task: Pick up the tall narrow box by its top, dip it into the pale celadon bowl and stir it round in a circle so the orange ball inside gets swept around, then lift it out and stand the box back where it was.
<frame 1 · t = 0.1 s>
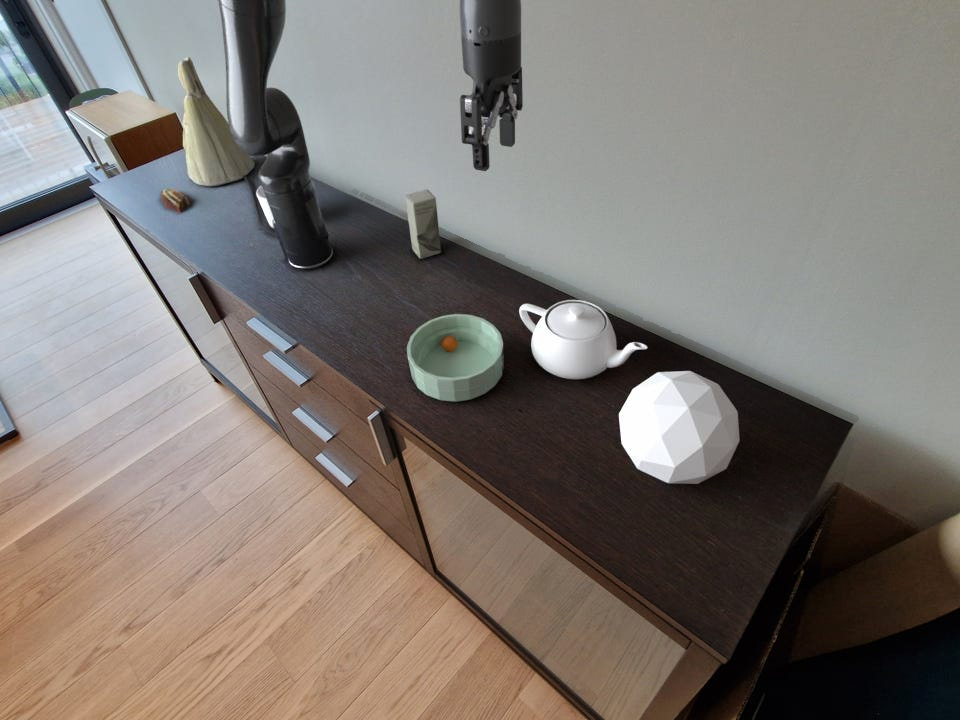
hand: (494, 157, 77), 29 cm above the sideboard, tool pointing down, fingers open, 8 cm apart
teapot: (575, 360, 88), on the sideboard
brown striped bar: (174, 202, 135), on the sideboard
box: (427, 252, 113), on the sideboard
mug: (296, 218, 126), on the sideboard
ball: (449, 344, 89), point 2 cm above the sideboard, touching bowl
bowl: (457, 368, 88), on the sideboard
geometric shape: (666, 458, 73), on the sideboard
sculpture: (224, 173, 146), on the sideboard
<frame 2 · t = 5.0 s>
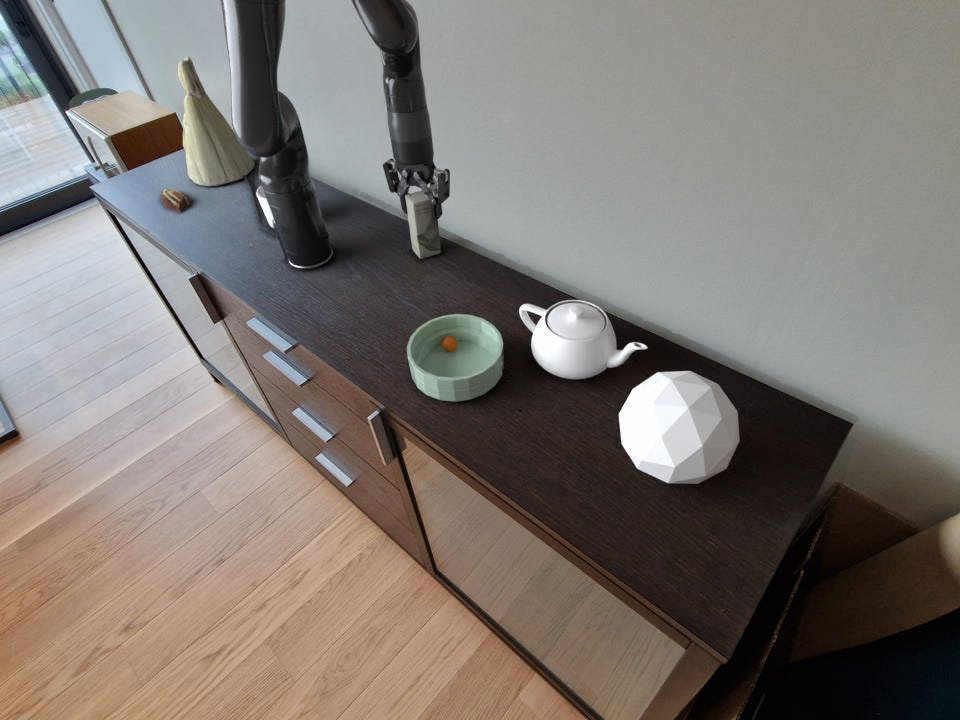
hand: (422, 215, 107), 9 cm above the sideboard, tool pointing down, fingers closed on box, 6 cm apart
box: (427, 252, 113), on the sideboard, touching gripper
everything else where it was.
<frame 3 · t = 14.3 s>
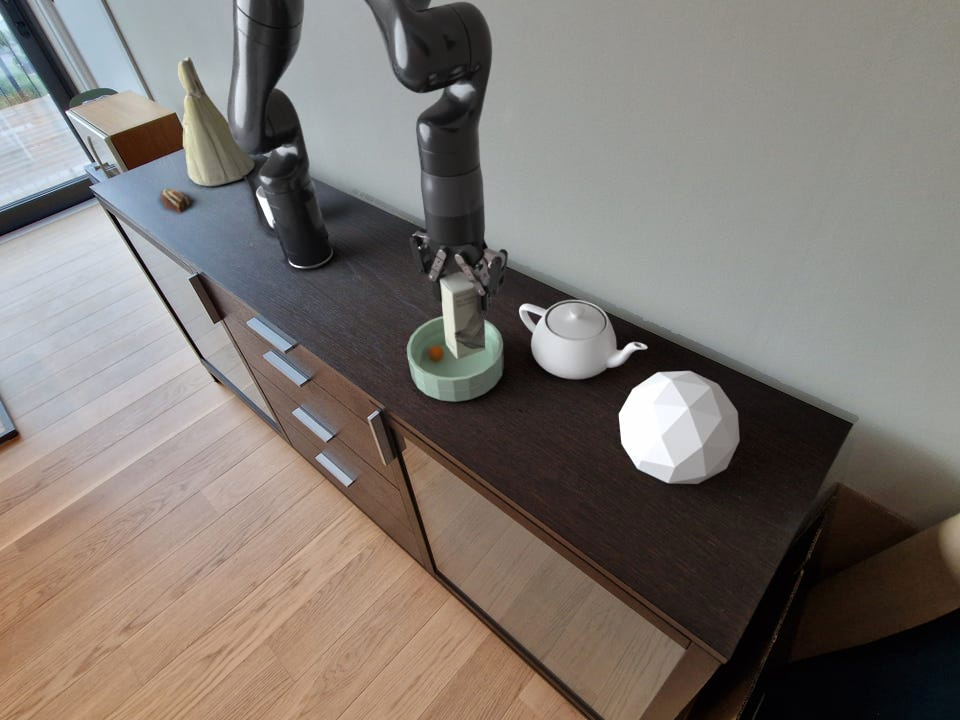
hand: (462, 304, 77), 14 cm above the sideboard, tool pointing down, fingers closed on box, 6 cm apart
box: (466, 347, 83), point 6 cm above the sideboard, touching gripper
ball: (436, 353, 88), point 2 cm above the sideboard, tilted 71°, touching bowl
everything else where it was.
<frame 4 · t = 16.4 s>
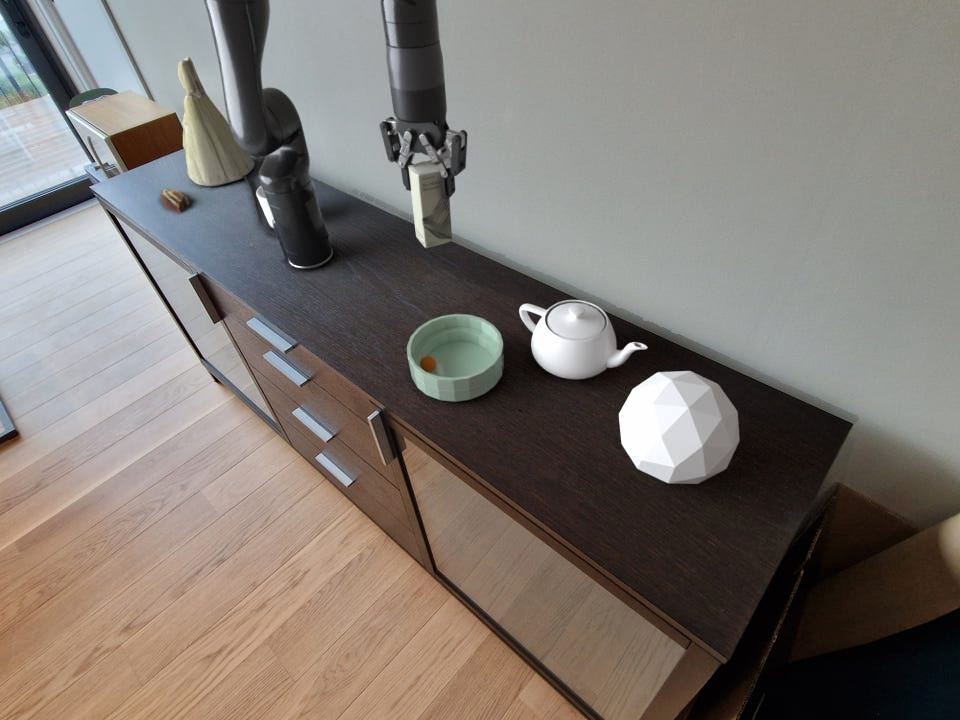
hand: (429, 192, 83), 23 cm above the sideboard, tool pointing down, fingers closed on box, 6 cm apart
box: (435, 240, 90), point 14 cm above the sideboard, touching gripper
ball: (428, 364, 86), point 2 cm above the sideboard, tilted 170°, touching bowl
everything else where it was.
when the fingers open (9 cm above the sideboard, at t = 21.7 s): box stays where it is, on the sideboard.
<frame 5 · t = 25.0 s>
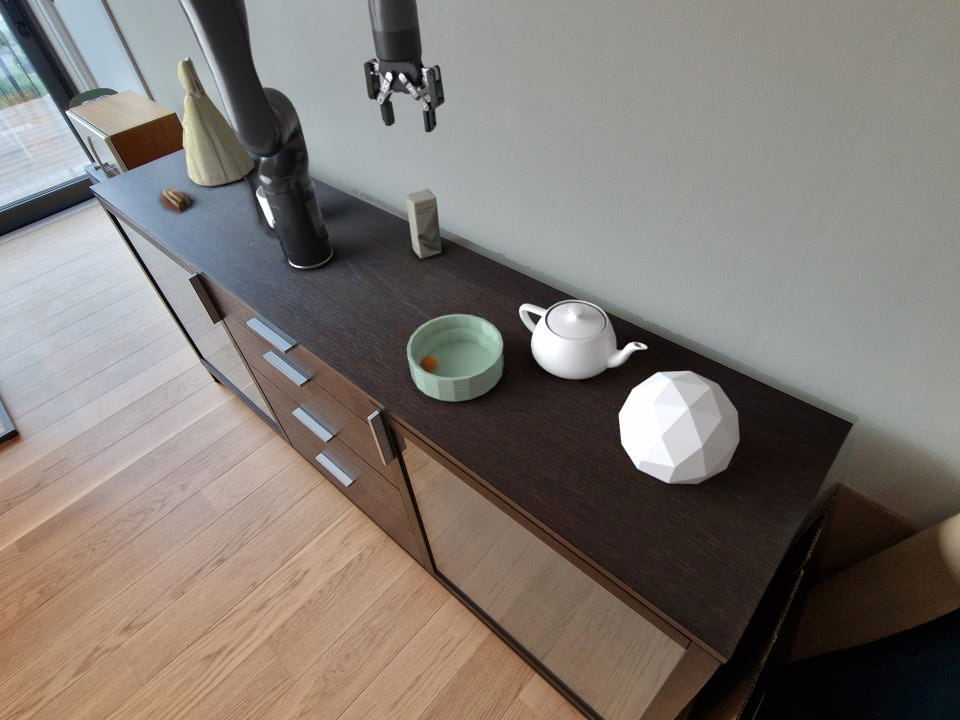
hand: (409, 127, 94), 26 cm above the sideboard, tool pointing down, fingers open, 8 cm apart
box: (428, 252, 113), on the sideboard
everything else where it was.
at the end: ball moved 5.5 cm from its start; ball inside the target area in the bowl (4.5 cm from its centre), point 1.9 cm above the bowl's base; box inside the target area (0.1 cm from its centre), on the sideboard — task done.
